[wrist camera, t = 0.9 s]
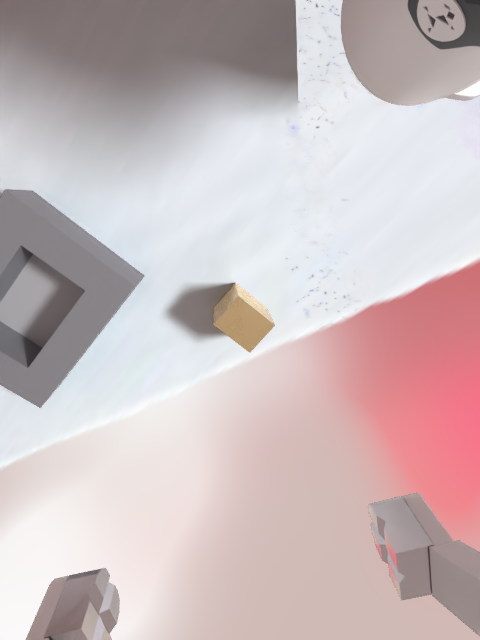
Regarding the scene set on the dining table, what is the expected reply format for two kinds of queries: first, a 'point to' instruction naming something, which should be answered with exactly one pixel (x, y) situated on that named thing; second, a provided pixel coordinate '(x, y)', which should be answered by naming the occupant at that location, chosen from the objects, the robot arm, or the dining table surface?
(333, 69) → the dining table surface
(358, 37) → the robot arm
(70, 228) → the well
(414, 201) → the dining table surface
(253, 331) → the tan block
